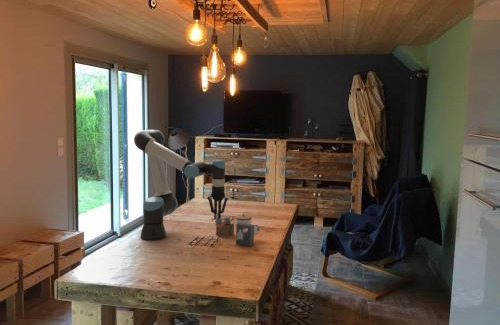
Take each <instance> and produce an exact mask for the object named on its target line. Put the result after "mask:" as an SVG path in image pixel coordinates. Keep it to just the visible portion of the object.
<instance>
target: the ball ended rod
mask: <svg viewBox="0 0 500 325" xmlns="http://www.w3.org/2000/svg"><path fill="white" fill-rule="evenodd" d="M230 223H231V217H230V216H221V218H218V219H215V226H216V227H218V228H221V227H222V226H224V225H228V224H230ZM216 227H215V228H216Z"/></svg>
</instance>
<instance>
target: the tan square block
mask: <svg viewBox="0 0 500 325" xmlns="http://www.w3.org/2000/svg"><path fill="white" fill-rule="evenodd" d="M215 229H216V230H215V236H218V237H224V238H229V237H231V236H233V235H235V223H234V222H230V224H228V225H224V226H222V227H221V228H218V227H215Z"/></svg>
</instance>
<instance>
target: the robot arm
mask: <svg viewBox="0 0 500 325" xmlns="http://www.w3.org/2000/svg"><path fill="white" fill-rule="evenodd" d="M165 139H166V138H165V135H164V133H162V131H160V130H158V129H141V130H139V131H138V132H136V134H135V135H134V137H133V142H134V146H136V147H137V149H139V150H140V151H142V152H143V153H144V154H146V155H147V158H148V161H149V167H150V168H149V169H150V172H151V173H150V174H151V178H152V182H153V187H154V191H155V193H154V194H153V196H151V197H147V198H146V199H144V200H143V206H142V208H143V226H142V229H141V232H140V239H142V240H146V241H158V240H159V241H160V240H163V239H165V238H166V237H167V231H166V228H165V226H164V217H165V216H168V215H171V214H173V213H174V212H175V211H176V210H177V208H178V199H177V198H176V197H175V195H174V194H173V191H171V190H170V188H169V182H168V178H167V172H166V168H165V163H167V164H168V165H170V166H171V167H174V168H175V169H177V170H179V171H180V172H182V173H184V176H185V177H186V178H188V179H195V178H199V177H200V176H204V175H205V176H211V178H212V179H211V181H212V182H211V185H212V186H211V193H210V195H208V196H207V198H206V199H207V200H208V203H209V207H210V212H211V214H213V216H214V217H213V218H214V220H216V219H218V218H221V217H222V216H221V215H222V214H223V213H224V212H225V209H226V207H227V206H226V205H227V202H228V200H229V197H228V196H226V194H225V189H226V187H225V185H226V182H225V181H226V175H225V174H226V161H225V160H224V159H212V162H207V161H206V162H205V161H195V162H192V161H190V160H189V159H187V158H185V157H184V156H182V155H180V154H178V153H176V152H175V151H173V150H171V149H169V148H167V147H166V146H164V145H165V142H166V140H165ZM222 201H223V203H222ZM213 203H214V204H213ZM222 204H223V205H222Z"/></svg>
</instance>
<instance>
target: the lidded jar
mask: <svg viewBox="0 0 500 325" xmlns="http://www.w3.org/2000/svg"><path fill="white" fill-rule="evenodd" d="M234 218H235V225H236V224H238V223H246V224H252V218H253V217H252V216H251V215H248V214H244V213H243V214H238V215H236V216H235V217H234ZM244 229H246V228H243V230H244Z"/></svg>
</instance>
